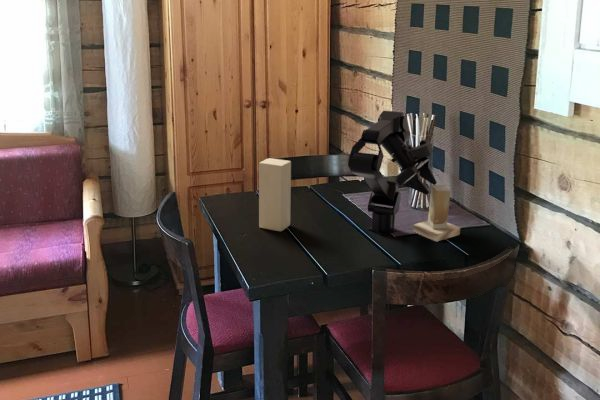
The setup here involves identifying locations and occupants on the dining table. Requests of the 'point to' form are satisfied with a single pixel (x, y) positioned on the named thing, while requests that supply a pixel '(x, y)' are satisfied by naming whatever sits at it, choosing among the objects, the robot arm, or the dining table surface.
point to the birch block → (436, 231)
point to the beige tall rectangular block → (274, 194)
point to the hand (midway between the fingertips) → (431, 188)
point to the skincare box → (439, 206)
